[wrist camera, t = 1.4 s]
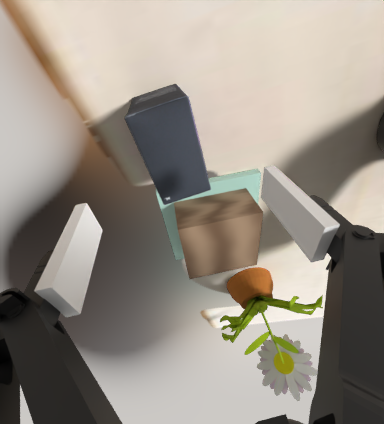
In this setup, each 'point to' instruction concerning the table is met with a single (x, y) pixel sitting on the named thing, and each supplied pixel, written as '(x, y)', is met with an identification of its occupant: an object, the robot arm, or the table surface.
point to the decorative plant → (277, 348)
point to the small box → (169, 143)
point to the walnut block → (219, 232)
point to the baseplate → (218, 185)
